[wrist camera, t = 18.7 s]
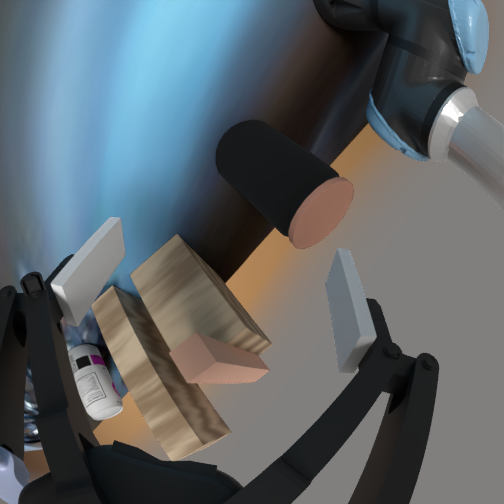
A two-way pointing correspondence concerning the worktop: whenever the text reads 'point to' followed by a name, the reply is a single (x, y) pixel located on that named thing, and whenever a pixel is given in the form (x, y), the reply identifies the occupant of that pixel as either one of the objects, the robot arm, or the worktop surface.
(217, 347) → the bar
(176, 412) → the oak stand
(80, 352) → the supplement can
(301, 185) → the coffee jar
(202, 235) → the worktop surface
